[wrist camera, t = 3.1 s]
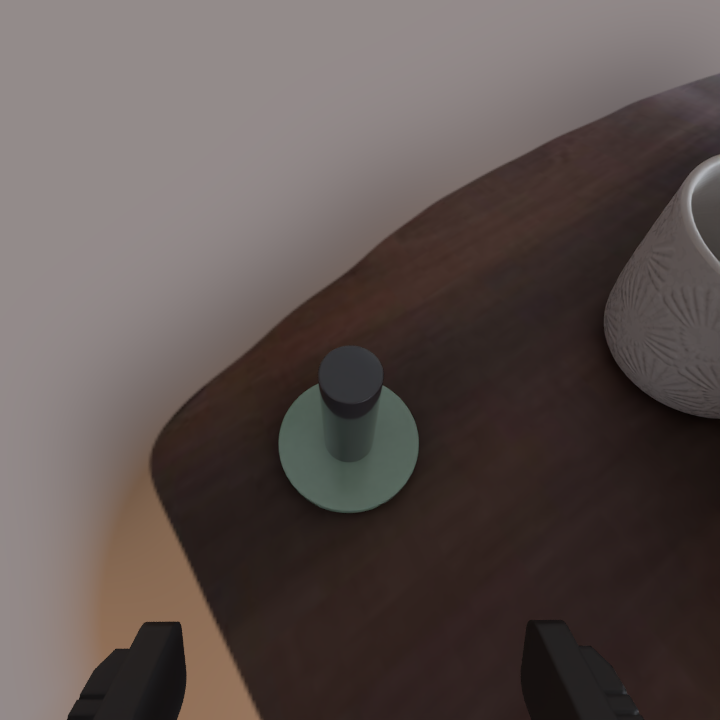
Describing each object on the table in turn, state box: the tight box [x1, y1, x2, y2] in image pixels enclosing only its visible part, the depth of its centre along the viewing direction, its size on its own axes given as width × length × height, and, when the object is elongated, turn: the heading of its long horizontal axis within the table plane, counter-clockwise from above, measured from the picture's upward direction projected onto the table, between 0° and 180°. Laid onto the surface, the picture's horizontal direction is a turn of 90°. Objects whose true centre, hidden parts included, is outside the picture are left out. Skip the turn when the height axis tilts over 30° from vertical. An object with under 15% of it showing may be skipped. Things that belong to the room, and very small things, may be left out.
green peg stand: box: [278, 345, 419, 513], centre depth 24 cm, size 8×8×9 cm
